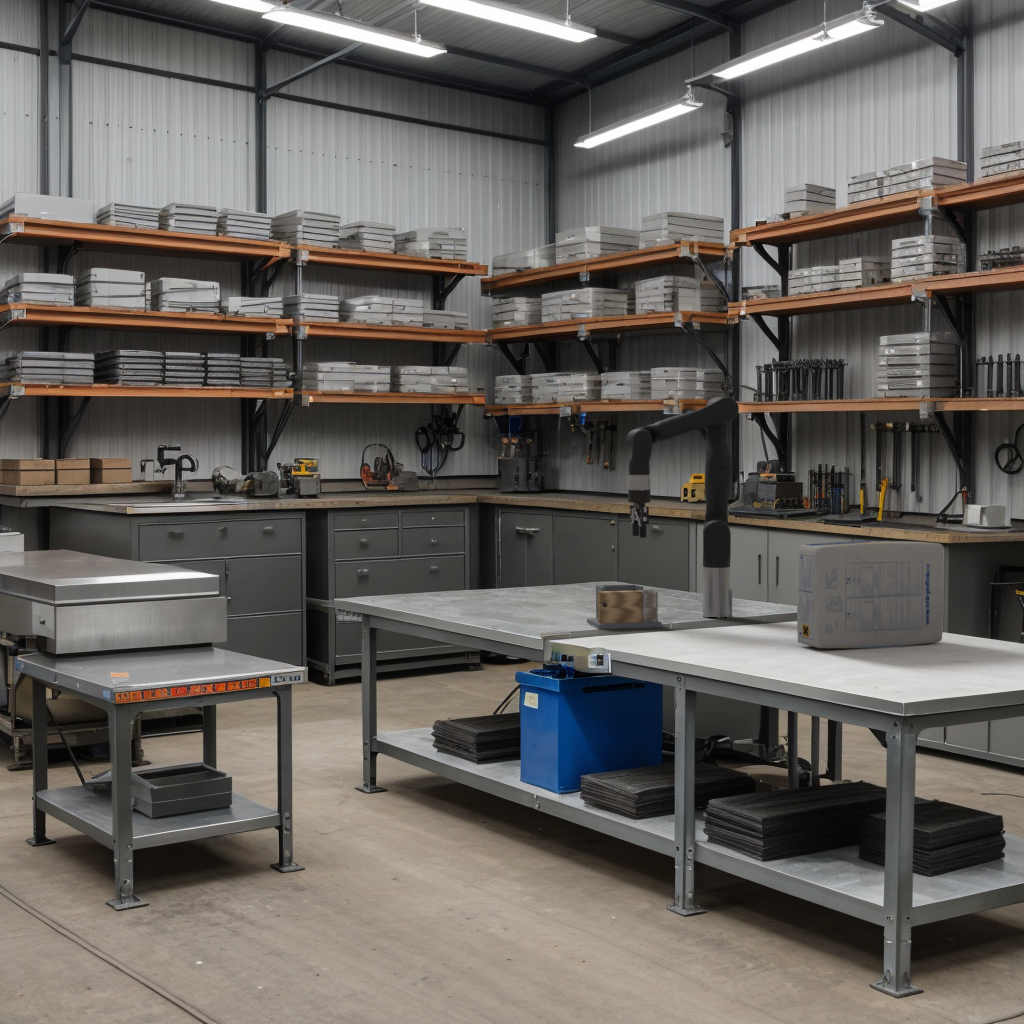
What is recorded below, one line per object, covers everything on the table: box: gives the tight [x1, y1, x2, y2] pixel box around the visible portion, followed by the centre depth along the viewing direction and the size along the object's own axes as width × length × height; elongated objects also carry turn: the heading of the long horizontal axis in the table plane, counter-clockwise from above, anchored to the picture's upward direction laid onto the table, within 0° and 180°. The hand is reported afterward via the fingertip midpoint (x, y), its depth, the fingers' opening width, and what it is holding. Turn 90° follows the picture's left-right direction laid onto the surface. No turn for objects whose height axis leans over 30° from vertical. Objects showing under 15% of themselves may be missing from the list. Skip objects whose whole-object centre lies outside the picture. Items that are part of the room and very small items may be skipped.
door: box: [597, 589, 659, 624], centre depth 393 cm, size 19×5×10 cm, turn 101°
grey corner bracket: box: [586, 583, 663, 630], centre depth 397 cm, size 21×15×12 cm
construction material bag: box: [796, 540, 945, 649], centre depth 351 cm, size 43×12×30 cm, turn 108°
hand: (639, 536), depth 408 cm, fingers open, 8 cm apart
